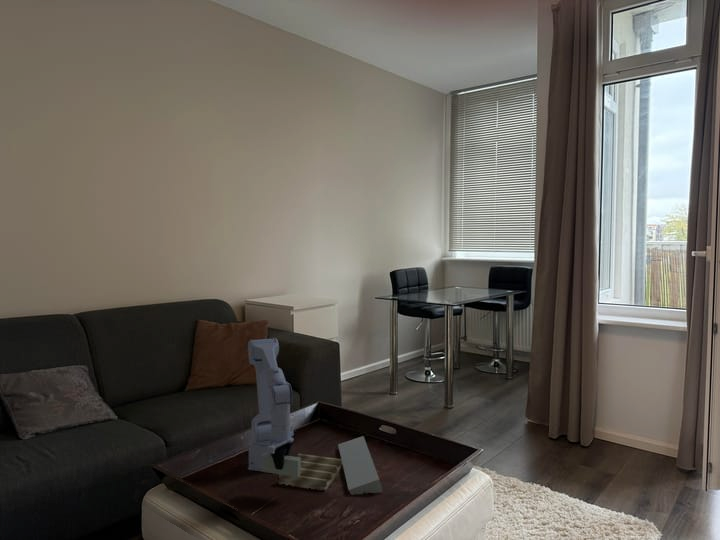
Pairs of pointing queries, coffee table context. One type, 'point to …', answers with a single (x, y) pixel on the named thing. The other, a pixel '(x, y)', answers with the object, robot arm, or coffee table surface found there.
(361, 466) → the grey rectangular block
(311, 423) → the coffee table surface
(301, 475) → the ribbed tan slab
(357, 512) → the coffee table surface
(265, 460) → the clay strip
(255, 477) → the coffee table surface
